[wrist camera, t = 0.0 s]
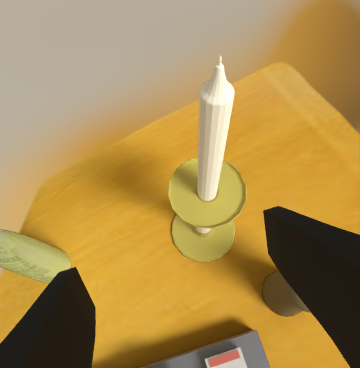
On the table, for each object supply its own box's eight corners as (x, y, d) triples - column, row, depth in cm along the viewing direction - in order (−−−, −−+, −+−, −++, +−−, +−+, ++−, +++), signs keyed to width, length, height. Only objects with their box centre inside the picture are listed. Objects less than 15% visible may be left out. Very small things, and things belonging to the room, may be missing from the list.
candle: (210, 276, 41) (249, 176, 12) (158, 235, 44) (85, 72, 15) (247, 224, 44) (354, 40, 15) (197, 189, 47) (201, -23, 18)
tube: (65, 241, 44) (-21, 191, 27) (81, 266, 42) (1, 231, 25) (32, 264, 43) (-80, 228, 25) (48, 292, 41) (-62, 274, 23)
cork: (257, 306, 39) (278, 302, 29) (268, 264, 41) (291, 248, 31) (301, 324, 38) (339, 327, 28) (310, 280, 40) (348, 268, 30)
